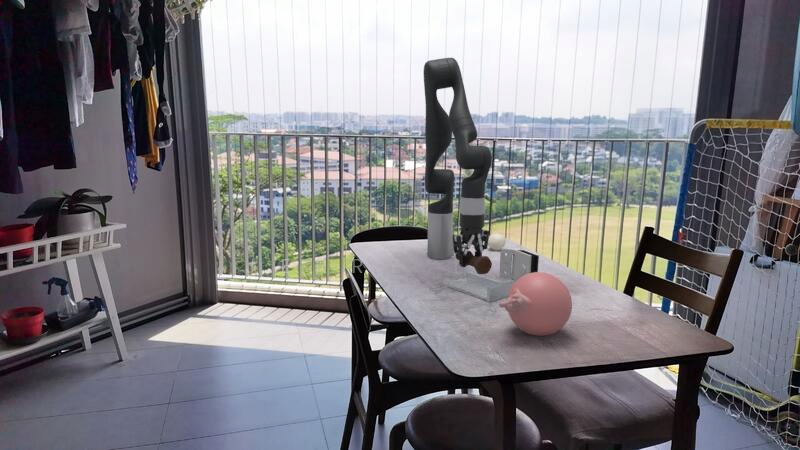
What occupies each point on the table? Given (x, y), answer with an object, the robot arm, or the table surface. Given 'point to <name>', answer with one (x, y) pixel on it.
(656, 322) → the table surface
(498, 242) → the white ball
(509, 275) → the hinge
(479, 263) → the bolt
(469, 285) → the tray
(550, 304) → the balloon
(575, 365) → the table surface
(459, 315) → the table surface
